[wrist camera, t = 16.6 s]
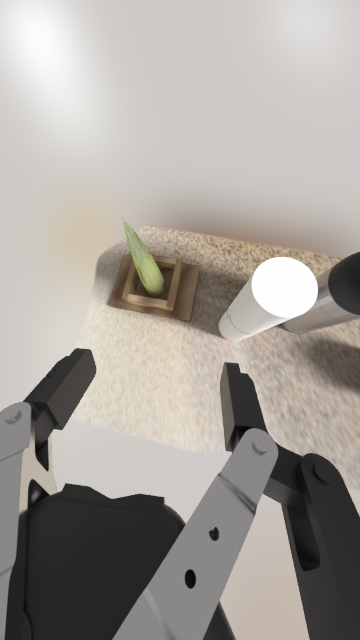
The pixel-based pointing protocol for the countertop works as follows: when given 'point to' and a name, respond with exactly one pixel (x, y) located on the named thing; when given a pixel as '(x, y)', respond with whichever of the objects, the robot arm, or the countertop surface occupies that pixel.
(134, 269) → the wooden box on board
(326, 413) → the countertop surface
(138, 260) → the tube
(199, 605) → the robot arm
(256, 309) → the cylindrical container
